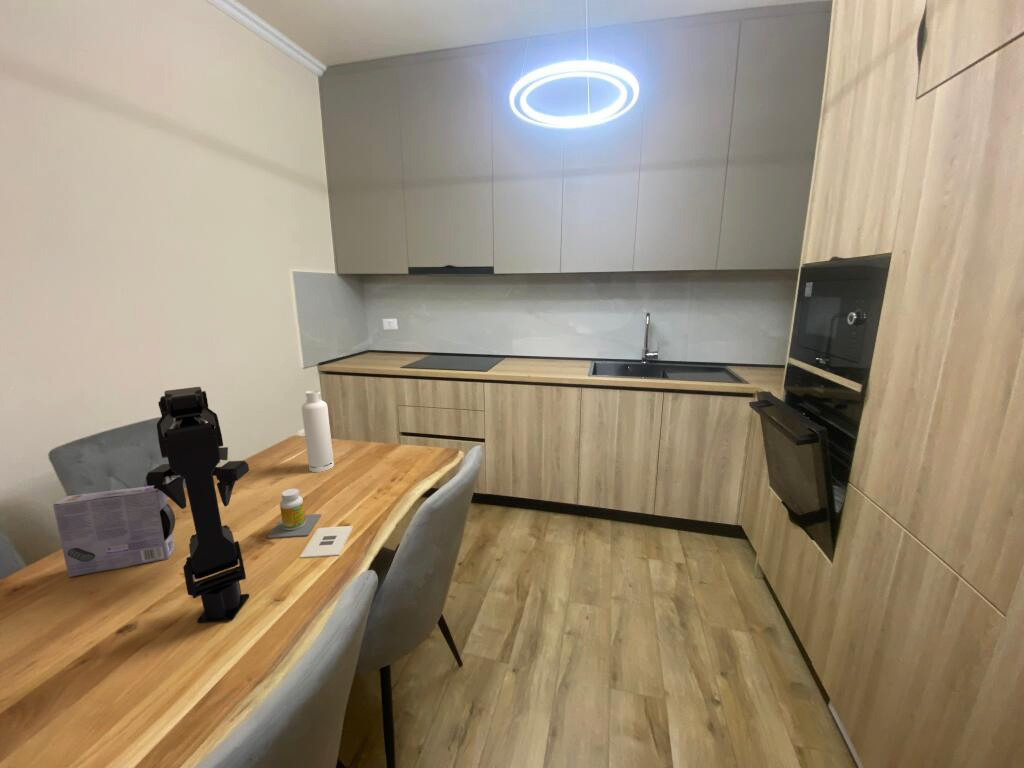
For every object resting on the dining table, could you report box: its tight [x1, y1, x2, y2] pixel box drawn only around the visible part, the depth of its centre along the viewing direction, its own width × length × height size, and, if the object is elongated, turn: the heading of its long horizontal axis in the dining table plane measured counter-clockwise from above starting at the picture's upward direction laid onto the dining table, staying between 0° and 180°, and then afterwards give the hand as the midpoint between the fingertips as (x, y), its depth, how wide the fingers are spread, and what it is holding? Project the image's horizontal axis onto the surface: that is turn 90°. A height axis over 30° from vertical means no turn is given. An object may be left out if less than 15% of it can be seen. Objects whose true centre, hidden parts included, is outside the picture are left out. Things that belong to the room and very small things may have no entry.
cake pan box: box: [52, 485, 176, 578], centre depth 93 cm, size 19×5×18 cm, turn 111°
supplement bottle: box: [279, 488, 306, 530], centre depth 107 cm, size 5×5×10 cm
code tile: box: [299, 525, 354, 559], centre depth 102 cm, size 12×9×1 cm
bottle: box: [301, 389, 335, 473], centre depth 142 cm, size 8×8×28 cm
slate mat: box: [266, 513, 322, 540], centre depth 109 cm, size 10×10×1 cm
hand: (205, 506), depth 94 cm, fingers open, 9 cm apart
